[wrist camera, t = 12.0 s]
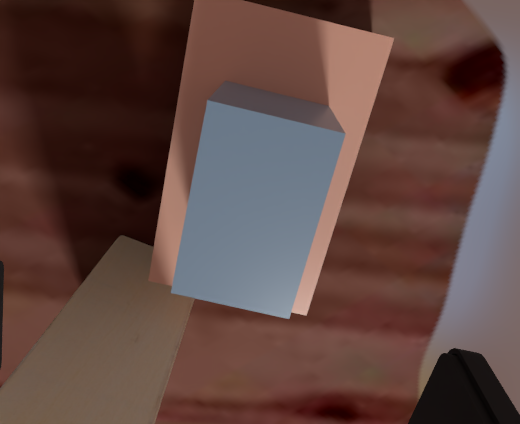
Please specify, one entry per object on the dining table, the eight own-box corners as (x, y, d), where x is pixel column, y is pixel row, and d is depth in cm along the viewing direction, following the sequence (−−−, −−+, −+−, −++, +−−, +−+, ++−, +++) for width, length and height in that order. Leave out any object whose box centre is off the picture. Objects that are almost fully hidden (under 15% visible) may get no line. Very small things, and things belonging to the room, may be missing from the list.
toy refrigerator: (110, 226, 34) (-117, 500, 15) (206, 263, 35) (114, 569, 15) (81, 313, 37) (-140, 640, 17) (171, 345, 38) (56, 692, 18)
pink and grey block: (209, -5, 28) (184, -15, 21) (372, 36, 29) (404, 40, 21) (169, 222, 34) (139, 279, 26) (307, 253, 34) (314, 317, 27)
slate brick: (225, 80, 22) (207, 100, 17) (329, 105, 22) (345, 133, 17) (194, 232, 25) (170, 293, 20) (286, 253, 25) (289, 318, 20)
